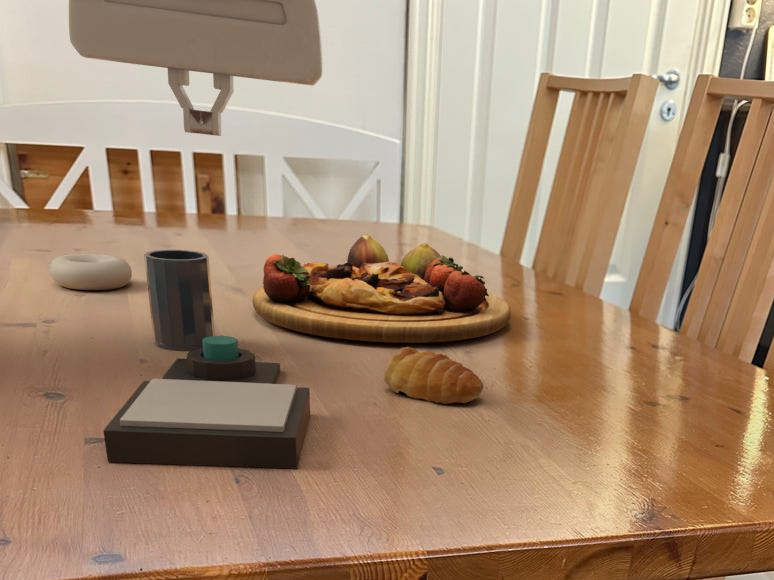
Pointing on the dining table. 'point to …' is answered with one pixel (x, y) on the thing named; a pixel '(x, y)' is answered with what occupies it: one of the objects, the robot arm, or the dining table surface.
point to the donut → (90, 271)
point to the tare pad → (223, 369)
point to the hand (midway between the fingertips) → (203, 134)
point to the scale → (210, 424)
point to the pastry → (431, 377)
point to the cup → (179, 298)
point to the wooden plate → (380, 297)
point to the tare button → (220, 348)
